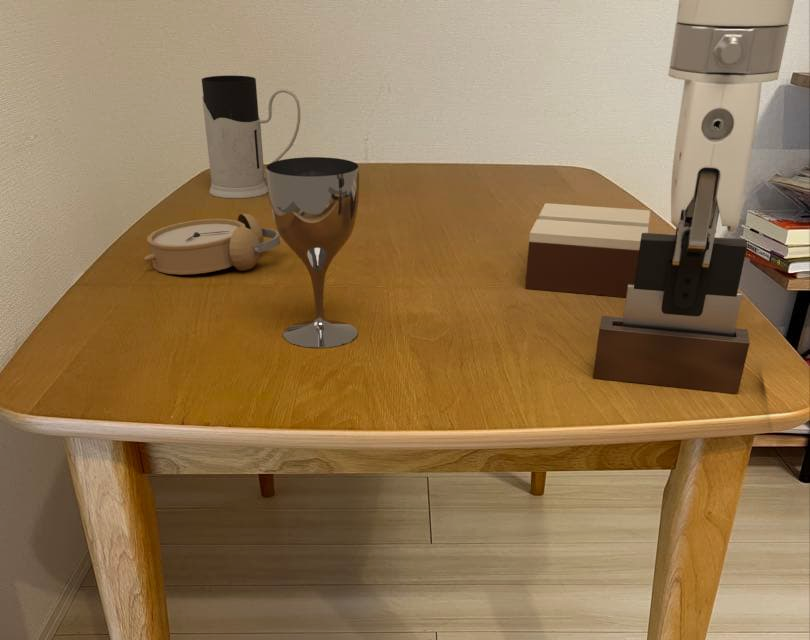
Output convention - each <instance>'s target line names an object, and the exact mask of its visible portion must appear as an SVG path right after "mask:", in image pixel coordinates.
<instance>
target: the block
mask: <svg viewBox="0 0 810 640" xmlns="http://www.w3.org/2000/svg"><path fill="white" fill-rule="evenodd" d="M622 324H623V317H620V316H609V315H601V319H600V324H599V328H598V335H597V343H596V350H595V357H594V364H593V371H592V379H597V380H606V381H613V382H614V381H615V382H624V383H632V384H633V383H634V384H644V385H650V386H651V385H652V386H662V387H672V388H679V389H680V388H681V389H689V390H697V391H698V390H699V391H706V392H717V393H724V394H725V393H726V394H734V395H735V394H736V395H738V394H739V390H740V386H741V383H742V378H743V373H744V370H745V365H746V361H747V357H748V352H749V348H750V343H751V342H750V337H749V332H748V329H747V328H738V327H735V331H734V336H733V337H725V336H715V335H705V334H694V333H684V332H673V331H663V330H652V329H642V328H632V327H622Z"/></svg>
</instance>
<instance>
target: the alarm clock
mask: <svg viewBox="0 0 810 640" xmlns="http://www.w3.org/2000/svg"><path fill="white" fill-rule="evenodd" d="M264 237H265V238H270V239H269V240H266V241H264ZM146 238H147V239H146V242H147V245H148V249H149V253H150V254H148V255H146V256H144V257H143V260H144V262H151V261H152V268H153V269H154V270H156V271H157V272H160V273H163V274H168V275H179V276H180V275H197V274H198V275H199V274H206V273H212V272H216V271H221V270H226V269H229V268H231V267H235V268H236V270H238V271H240V272H242V271H248V270H251V269H253V268H254V267H255V266H256V265H257V263H258V262H259V259H260V256H261V253H263V252H267V251H270V250H272V249H275V248H276V247H278V246H279V245H280V243H281V240H280V234H279V232H278V230H275V229H271V228H265V227H262V226H261V224H260V222H259V221H258V219H257V218H256V217H254V215H252V214H249V213H240V214H239V215H238V218H237V220H236V219H231V218H205V219H203V218H202V219H195V220H188V221H183V222H182V221H181V222H178V223H174V224H170V225H167V226H164V227H161V228H159V229H157V230H155V231H152V232H151V233H150V234H148V235H147V236H146Z"/></svg>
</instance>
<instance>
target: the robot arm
mask: <svg viewBox="0 0 810 640" xmlns="http://www.w3.org/2000/svg"><path fill="white" fill-rule="evenodd" d="M794 3H795V0H678V7H677V13H676V14H677V15H676V22H675V26H674V27H675V28H674V34H673V39H672V40H673V41H672V47H671V55H670V60H669V67H668V75H667V76H669V77H670V78H673V79H677V80H682V81H684V82H683V88H682V94H681V95H682V96H681V102H680V103H681V104H680V109H679V115H678V122H677V123H678V124H677V129H676V137H675V145H674V152H673V153H674V154H673V160H672V170H671V171H672V173H671V174H672V175H671V184H670V185H671V189H670V223H671V224H672V225H673V226H674V227H675V232H674V235H677V238H676V244H675V250H674V256H673V262H669V265H668V271H667V277H666V283H665V289H664V295H663V301H662V309H661V310H662V312H663V313H664V314H672V315H684V316H696V317H697V316H700V315H701V314H702V312H703V307H704V302H705V297H706V292H707V286H708V281H709V276H710V271H711V265H709V264H710V258H711V253H712V248H713V243H714V237H716V233H717V226H718V221H719V217H720V222H721V226H722V227H726V229H727V232H733V231H735V230H736V229H738V228H739V225H740V220H741V213H742V208H743V201H744V196H745V190H746V185H747V179H748V174H749V167H750V163H751V158H752V151H753V147H754V140H755V136H756V130H757V129H756V128H757V123H758V116H759V109H760V102H761V92H762V83H768V82H773V81H775V80H776V81H777V80H778V79H779V75H780V72H781V71H780V70H781V65H782V61H783V57H784V52H785V46H786V41H787V37H788V32H789V27H790V22H791V17H792V13H793V8H794ZM684 236H685V238H684Z"/></svg>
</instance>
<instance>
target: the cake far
mask: <svg viewBox="0 0 810 640" xmlns="http://www.w3.org/2000/svg"><path fill="white" fill-rule="evenodd" d="M650 218H651V209H650V210H649V209H638V208H637V209H635V208H622V207H621V208H619V207H606V206H593V205H592V206H590V205H577V204H562V203H547V202H545V203H544V205H543V207H542V209H541V210H540V212H539V215H538V219H543V220H557V221H571V222H584V223H598V224H612V225H625V226H639V227H649V226H650V221H651V219H650Z"/></svg>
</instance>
